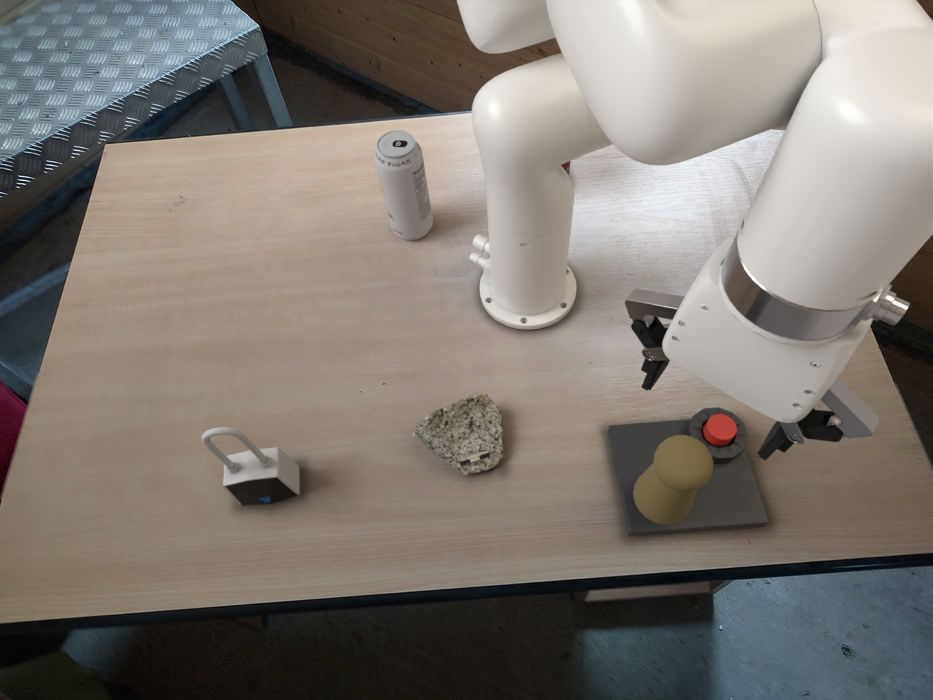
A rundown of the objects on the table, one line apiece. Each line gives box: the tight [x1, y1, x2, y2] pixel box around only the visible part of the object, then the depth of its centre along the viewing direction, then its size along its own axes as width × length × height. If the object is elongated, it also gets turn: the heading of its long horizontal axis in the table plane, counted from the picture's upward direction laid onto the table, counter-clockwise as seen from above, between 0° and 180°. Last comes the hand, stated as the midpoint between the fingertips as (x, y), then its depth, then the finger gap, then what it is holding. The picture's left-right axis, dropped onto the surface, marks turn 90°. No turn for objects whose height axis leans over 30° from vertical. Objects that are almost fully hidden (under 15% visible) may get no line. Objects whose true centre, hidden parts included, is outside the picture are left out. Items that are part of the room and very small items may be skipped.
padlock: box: [200, 426, 301, 506], centre depth 63 cm, size 7×4×15 cm, turn 99°
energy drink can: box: [374, 129, 434, 241], centre depth 83 cm, size 6×6×15 cm
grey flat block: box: [607, 406, 770, 537], centre depth 66 cm, size 14×12×3 cm
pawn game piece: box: [633, 435, 713, 525], centre depth 60 cm, size 6×6×11 cm
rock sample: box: [412, 392, 505, 476], centre depth 69 cm, size 10×8×9 cm
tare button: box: [703, 414, 737, 446], centre depth 66 cm, size 3×3×2 cm
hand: (709, 408), depth 48 cm, fingers open, 9 cm apart
